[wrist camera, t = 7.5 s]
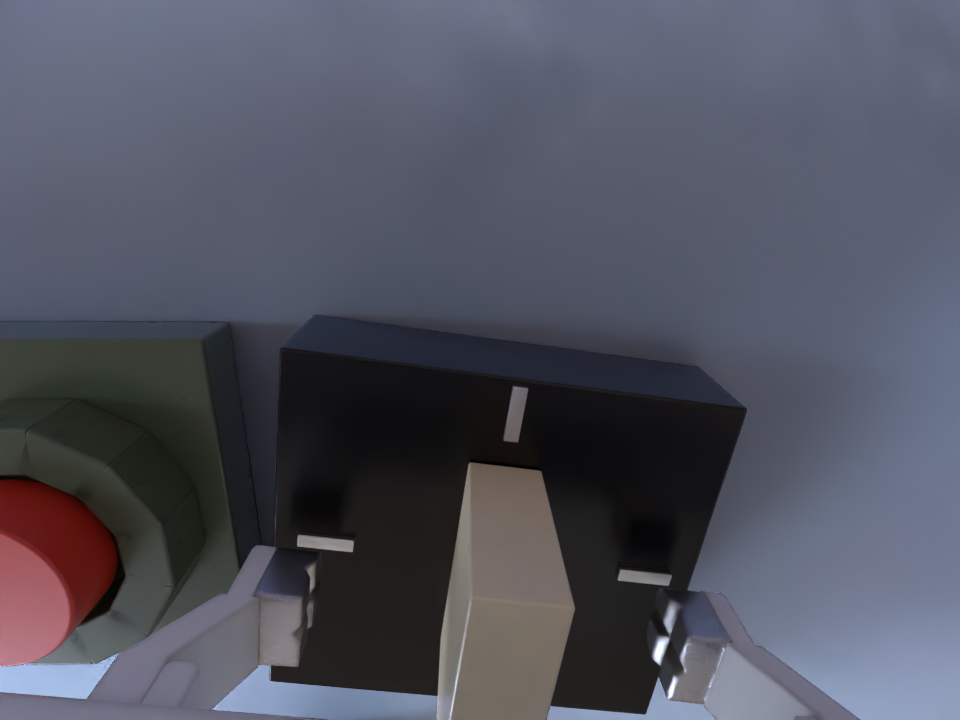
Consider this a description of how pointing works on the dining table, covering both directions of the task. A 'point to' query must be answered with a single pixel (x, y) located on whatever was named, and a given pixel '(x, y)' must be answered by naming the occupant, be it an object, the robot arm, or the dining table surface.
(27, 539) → the button
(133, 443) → the button box
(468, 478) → the knob
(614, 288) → the dining table surface
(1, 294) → the dining table surface
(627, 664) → the control panel
